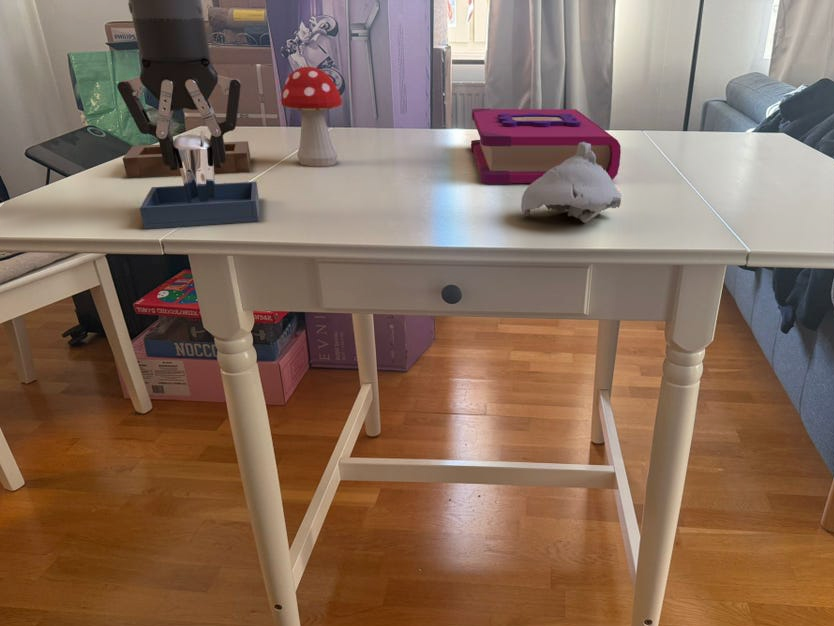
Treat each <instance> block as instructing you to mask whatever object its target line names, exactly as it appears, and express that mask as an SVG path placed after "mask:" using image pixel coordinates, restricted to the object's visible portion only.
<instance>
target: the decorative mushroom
mask: <svg viewBox="0 0 834 626" xmlns="http://www.w3.org/2000/svg"><path fill="white" fill-rule="evenodd" d="M280 102H281V105H282V106H284V107H286V108H288V109H291V110H298V111H300V112H301V126H300V141H299V147H298V150H297V153H296V157H297V159H298V160H299V163H300V165H302V166H305V167H330V166H334V165H336V164H337V159H338V154H337V151H336V150H335V148H334V145H333V142H332V139H331V135H330V132H329V128H328V125H327V122H326V115H325V111H326V110H333V109H336V108H338V107H340V106H342V105H343V99H342V96H341V93H340V91H339V90H338V88H337V86H336V84H335V82H334V81H333V79H332V78H331V77H330V76H329V75H328V73H326V72H325V71H323V70H321V69H320V68H318V67H313V66H303V67H299V68H297V69H295V70H293V71H292V72H290V74H289V75H288V76H287V78H286V80H285V83H284V85H283V89H282V91H281V98H280Z"/></svg>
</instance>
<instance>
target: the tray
mask: <svg viewBox="0 0 834 626" xmlns="http://www.w3.org/2000/svg"><path fill="white" fill-rule="evenodd" d="M215 189H216V202H210V203H193V204H189V203H188V199H187V195H186V192H185V188H184V184H183V185H169V186H165V185H164V186H151V187H150V190H149V192H148V193H147V194H146V197H145V198H144V200H143V202H142V203H141V205H140V207H139V212H140V215H141V216H140V217H141V219H142V220H141V221H142V224H143V229H144V230H151V229H165V228H166V229H167V228H180V227H181V228H182V227H196V226H197V227H198V226H210V225H224V224H225V225H227V224H238V223H239V224H240V223H254V222H255V223H256V222H259V221H260V196H259V189H258V182H257V181H243V182H224V183H223V182H221V183H215Z"/></svg>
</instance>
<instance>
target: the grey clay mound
mask: <svg viewBox="0 0 834 626" xmlns="http://www.w3.org/2000/svg"><path fill="white" fill-rule="evenodd" d="M590 150H591V144H589V143H586V142H582V143H579V144H578V149H577V153H576V155H574V156H572V157H571V158H569V159H567V160H565V161H564V162H563V163H562V164H560V165H559V166H556V167H553V168H552V169H550V170H549V171H547V172H546V173H545V174H544V175H543V176H542V177H540V178H538V179H537V180H536V181H534V182H533V183H529V186H527V188H526V189H525V190H524V192H523V194H522V196H521V201H520V202H521V203H520V209H521V214H522V217H523V218H526V217H527V216H528V215H530V213H531V210H535V209H539V208H541V207H542V206H545V207H546V208H547V210H551V211H556V212H558V213H562V212H566V210H567V211H568V212H567V216H568V217H573V218H576V219H579V220H580V221H581V222H582V223H584V224H586V223H588V222H589V221H591V220H592V219H594V218H595V217H596V216H598V215H600V213H601V212H602V211H605V210H608V209H610V208H611V209H618V208H620V206H621V203H622V193H621V192H620V190H618V188H616V186H615V184H614V181H613V180H611V178H610V176H609V175H608V173H607V172H606V170H603V168H602V166H601V165H597V163H596V162H595V159H596V157H595V154H594V153H593V151H590Z"/></svg>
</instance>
